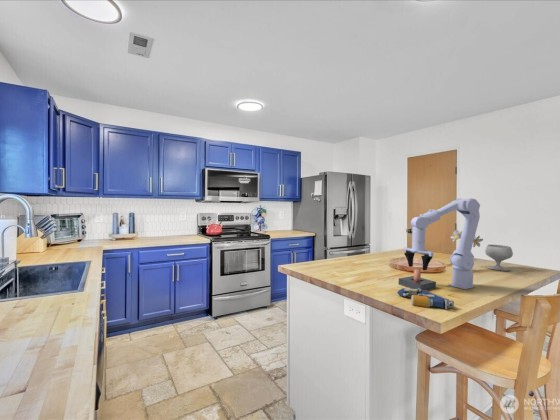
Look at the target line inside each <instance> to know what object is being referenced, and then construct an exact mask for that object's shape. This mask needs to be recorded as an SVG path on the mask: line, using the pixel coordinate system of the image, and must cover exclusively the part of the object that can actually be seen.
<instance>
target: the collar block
mask: <svg viewBox="0 0 560 420" xmlns="http://www.w3.org/2000/svg"><path fill="white" fill-rule="evenodd" d="M398 285H399V286H403V287H405V288H409V289H418V288H419V289H421V290H426V291H429V290H431V289H432V290H433V289H436V288H437V281H434V280H431V279H427V278H423V277H421V278H420V282H417V281H414V275H409V276H405V277H404V276H403V277H399V278H398Z"/></svg>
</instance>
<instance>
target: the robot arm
mask: <svg viewBox="0 0 560 420" xmlns="http://www.w3.org/2000/svg"><path fill="white" fill-rule="evenodd" d="M480 207H481V203H480V202H479V201H478V200H477V199H475V198H471V197H470V198H457V199H455V200H451V202H449V203H447V204H446V205H444V206H442V207H440V208H439V209H428V211H427V212H425V213H421V214H419V216H415V217H413V218H412V219H411V221H410V222H409V224H410V226H411V228H412V230H411V231H412V232H411V233H412V234H411V235H412V236H411V247H404V248H403V251H404V253H403V254H404V256H405V258H406V261H407V263H408V267H410V268H411V267H413V266H414V257H415V254H418V255H421V261H422V271H427V270H428V266H429V264H430V262H431V261H432V259H433V257H434V251H429V250H426V249H425V248H426V247H425V246H426V229H427V228H428V227H429V225H431V224H432V223H435V222H438V221H439V220H440V219H441V217H442V216H444V215H446V214H449V213H451V212H455V211H457V212H459V213H460V214H461V215H462V216H463V217H464V218H465V221H464V224H463V226H462V227H463V228H462V230H461V231H462V235H461V238H460V237H459V243H458V247H457V248H456V249H454V251H453V253H452V254H451V256H450V257H449V262H450V264H451V268H452V277H451V278H452V279H451V280H452V281H451V283H448V286H450V287H454V288H458V289H462V290H467V289H468V290H469V289H473V288H476V285H473V284H474V272H473V271H472V269H473V268H474V265H475V261H474V260H475V256H474V254H473V253H472V248H473V244H474V242H473V241H474V237H476V232H477V230H478V225H479V222H480V218H481V214H480Z"/></svg>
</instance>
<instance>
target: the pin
mask: <svg viewBox="0 0 560 420" xmlns="http://www.w3.org/2000/svg"><path fill="white" fill-rule="evenodd" d="M421 272H422V270H421V269H417V268H416V269H413V276H414V281H417V282H420V278H422V276H421V275H422V274H421Z"/></svg>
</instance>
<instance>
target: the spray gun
mask: <svg viewBox="0 0 560 420" xmlns="http://www.w3.org/2000/svg"><path fill="white" fill-rule="evenodd" d="M396 293H397V294H398V295H399V297H402V298H410V297H411V299H410V300H411V301H410V302H411V305H412V306H414V307H421V308H430V307H435V308H442V309H444V308H445V310H447V309H450V308H454V307H455V301H454V300H453V299H448V298H445V297H444V296H440V295H438V294H437V293H434V292H431V291H429V290H421V289H419V288H418V289H412V288H408V287H405V288H404V287H403V288H401V289H399V290H396Z"/></svg>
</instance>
